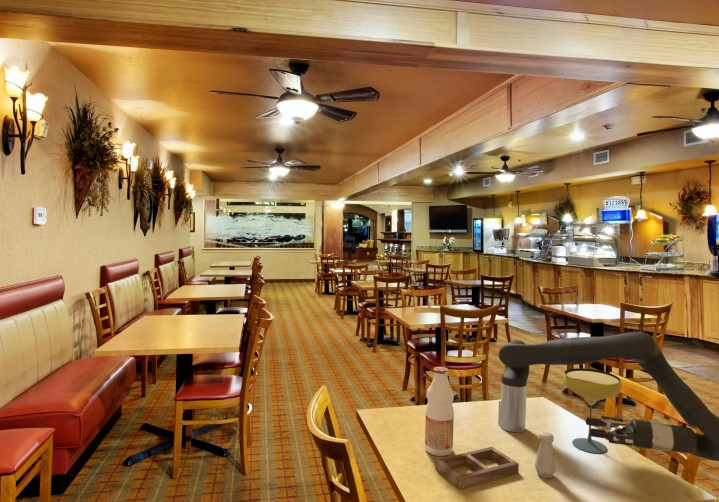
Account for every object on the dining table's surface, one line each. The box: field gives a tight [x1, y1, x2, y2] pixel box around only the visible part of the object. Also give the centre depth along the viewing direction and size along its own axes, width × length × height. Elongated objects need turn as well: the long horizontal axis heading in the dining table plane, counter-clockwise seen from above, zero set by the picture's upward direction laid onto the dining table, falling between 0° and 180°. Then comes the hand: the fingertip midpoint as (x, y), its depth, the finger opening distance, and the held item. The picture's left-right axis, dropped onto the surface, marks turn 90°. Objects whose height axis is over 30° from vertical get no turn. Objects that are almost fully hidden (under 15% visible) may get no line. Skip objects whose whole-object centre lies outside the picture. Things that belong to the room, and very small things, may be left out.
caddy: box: [435, 446, 520, 489], centre depth 138 cm, size 12×22×3 cm, turn 115°
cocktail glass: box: [562, 367, 623, 454], centre depth 156 cm, size 18×18×25 cm
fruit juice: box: [424, 366, 455, 457], centre depth 151 cm, size 9×9×28 cm
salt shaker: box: [534, 431, 556, 479], centre depth 137 cm, size 6×6×13 cm
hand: (587, 426), depth 133 cm, fingers open, 8 cm apart
